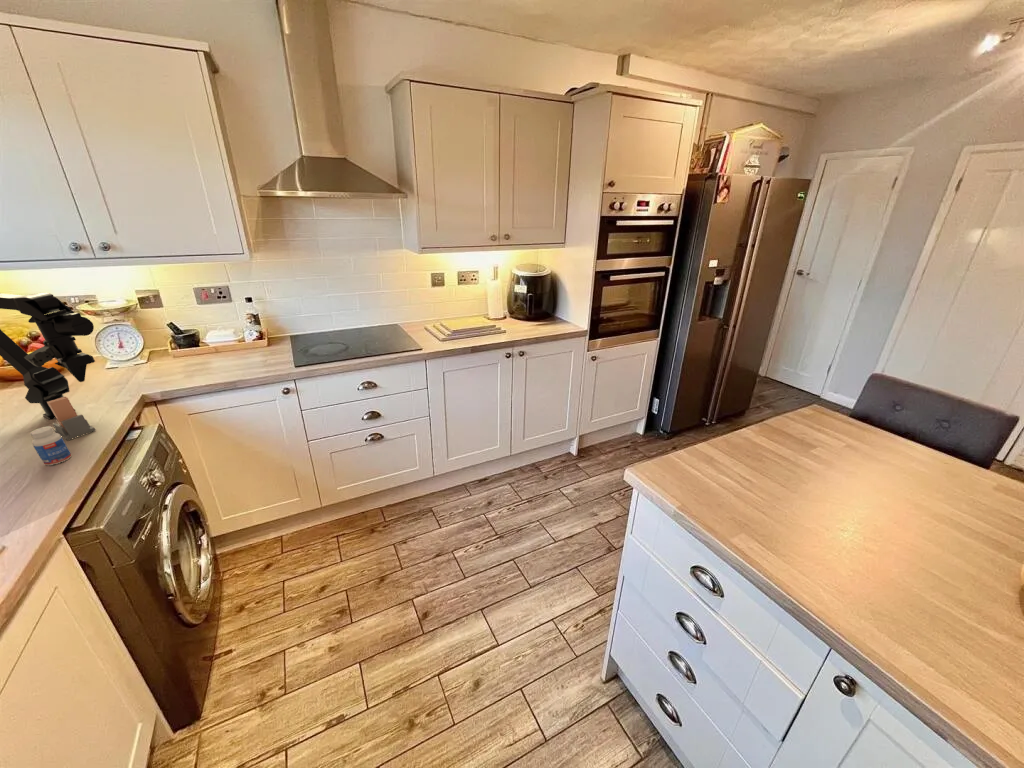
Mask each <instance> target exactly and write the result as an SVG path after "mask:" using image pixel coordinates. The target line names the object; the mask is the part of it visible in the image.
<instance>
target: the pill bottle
mask: <svg viewBox="0 0 1024 768" xmlns="http://www.w3.org/2000/svg"><path fill="white" fill-rule="evenodd" d="M54 430H55V429H53V427H52V426H50V425H49V426H42V427H41V426H40V427H38V428H36V429H34V430H32V431H30V435H31V437H32V440H31V445H32V446H33V448H34V450H35V451H36V454H38V456H39V458H40V459H41V461H42V463H43V464H44V466H49V465H50V466H54V465H53V464H56V465H58V464H57V463H59V464H61V463H60V462H62V463H64V462H66V461H68V460H70V459H71V458H70V457H72V453H71V451H70V449H69V448H68V446H67V444H66V442H65V440H64V438H63V437H61V435H60V434H58V433H55V431H54ZM69 458H70V459H69ZM67 459H68V460H67ZM65 460H66V461H65ZM63 461H64V462H63Z"/></svg>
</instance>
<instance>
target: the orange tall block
mask: <svg viewBox="0 0 1024 768" xmlns="http://www.w3.org/2000/svg"><path fill="white" fill-rule="evenodd" d="M47 403H48V405H49V407H50V408H51V410H52V412H53V413H54V415H55V417H56V418H55V419H56V420H57V422H58V423H59V424H58V425H60V426H62V427H63V428H64V429H65V427H64V426H63V424H62V422H61V421H64V420H67V419H70V418H72V417H75V416H78V415H79V414H78V413H77V412H76V411H75V410H76V409H75V408H74V406H73V405H72V403H71V402H70V400H69V398H68V397H67V396H64V397H61V398H58V399H55V400H52V401H48V402H47ZM74 409H75V410H74ZM65 431H66V429H65ZM66 432H67V431H66Z"/></svg>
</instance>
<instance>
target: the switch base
mask: <svg viewBox="0 0 1024 768" xmlns="http://www.w3.org/2000/svg"><path fill="white" fill-rule="evenodd" d="M77 415H78V416H75V417H72V418H70V419H67V420H64V421H61V422H62V424H63V426H64V427H65V429H66V431H67V432H66V431H65V429H64V428H63V427H62V426H61V425H60V424H58V423H56V422H53V423H51V424H52V426H53V427H54V429H53V430H54V433H58V434H60V435H61V436H62V438H63V437H64V438H63V439H65V438H66V439H67V440H66V439H65V440H66V441H68V440H69V439H72V438H75V437H77V436H80V437H82V436H81V435H83V434H85V435H87V434H86V433H88V434H91V433H93V432H96V431H95V430H96V429H95V427H93V426H92V425H90V424H89V422H88V420H87V419H86V418H85V417H84V415H83V414H77ZM92 431H93V432H92ZM90 432H91V433H90ZM83 436H84V435H83ZM77 438H78V437H77ZM75 439H76V438H75ZM72 440H73V439H72ZM69 441H70V440H69Z"/></svg>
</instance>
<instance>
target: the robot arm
mask: <svg viewBox="0 0 1024 768" xmlns="http://www.w3.org/2000/svg"><path fill="white" fill-rule="evenodd" d="M0 309H1V310H9V311H10V310H13V311H17V312H20V314H22V315H26V316H29V319H28V323H30V324H33V323H35V324H36V327H37V328H38V330H39V332H40V333H41V336H42V337H43V338H44V340H43V341H42V344H43V346H41V347H39V348H38V349H36V350H34V351H32V352H30V353H27V351H26V350H24V349H23V348H22V347H21V346H19V344H18V343H16V342H15V341H14V340H13V339H12V338H10V337H9V336H8V334H6V333H5V332H4V331H3V330H2V329H1V328H0V357H1V358H2V359H3V360H5V361H6V362H7V363H8V364H9V365H10V366H12V368H14V369H15V370H16V371H17V372H18V373H20V374H21V375H22V377H23V385H24V387H26V388H27V389H28V390H27V393H26V395H25V397H24V399H26V401H27V402H28V403H29V404H39V405H40V406H41V408H42V409H43V412H44V413H42V416H43V417H45V418H46V419H47V420H54V419H57V418H56V417H55V415H54V413H53V412H52V410H51V408H50V407H49V405H48V403H47V402H48V401H52V400H55V399H58V398H61V397H65V396H64V394H66V393H67V394H68V393H70V392H71V391H70V385H69V381H68V379H67V378H66V376H65V375H64V374H62V373H61V372H60V371H59V370H58V369H57V368H56V367H53V366H52V367H45V366H44V365H45V364H46V363H48V362H51V361H53V359H55V360H56V362H55V363H54V364H55V365H57V366H59V367H62V368H64V369H66V370H67V371H68V372H69V373H70V374H71V375H72V376H73V377H74V378H75V380H77V381H78V383H79V382H80V383H83V382H85V380H86V373H87V367H88V365H89V364H93V363H95V362H96V361H95V359H94V357H93V355H90V354H88V353H85V352H83V351H82V348H81V349H80V348H79V347H78V345H77V344H76V340H77V339H76V338H75V337H82V336H83V337H84V336H85V337H86V336H89V335H91V334H93V331H94V323H93V322H92V321H91V320H90V319H89V318H87V317H86V316H82V315H81V313H80V312H75V311H74V310H72V309H71V307H70V306H68V305H66V304H65V303H64V302H63V301H61V299H59V298H57V297H56V296H54V294H52V293H49V292H42V293H41V292H39V293H32V294H25V295H23V294H14V293H13V294H11V293H1V292H0ZM74 410H75V412H76V409H75V408H74Z"/></svg>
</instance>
